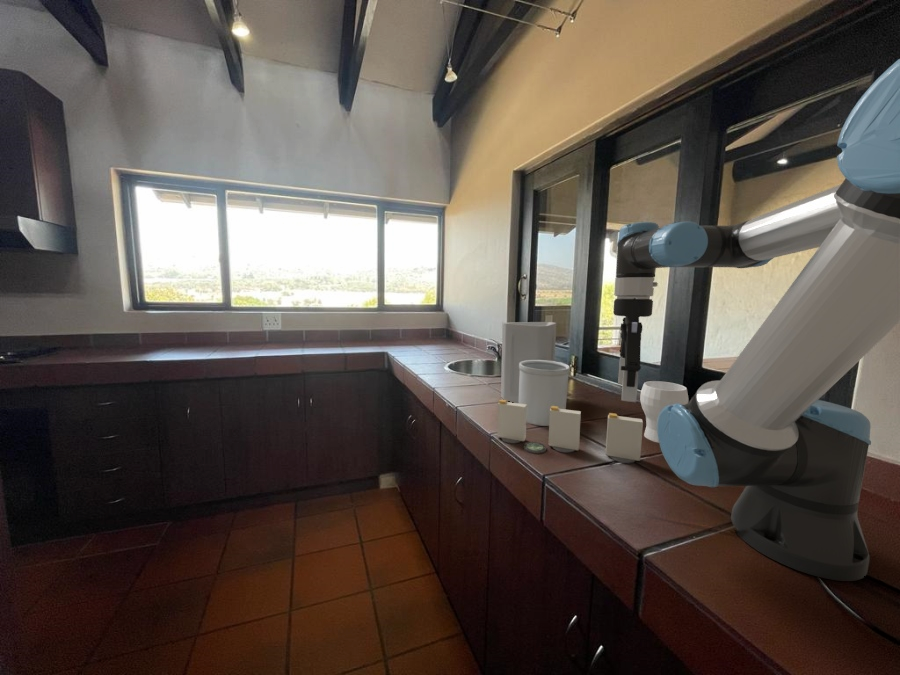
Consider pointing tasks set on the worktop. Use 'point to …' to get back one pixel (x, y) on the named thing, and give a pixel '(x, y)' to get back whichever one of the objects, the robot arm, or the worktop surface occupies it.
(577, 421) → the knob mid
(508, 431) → the cream slab
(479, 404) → the worktop surface
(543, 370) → the utensil holder
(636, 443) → the slab with yellow pad
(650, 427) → the cup
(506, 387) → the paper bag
